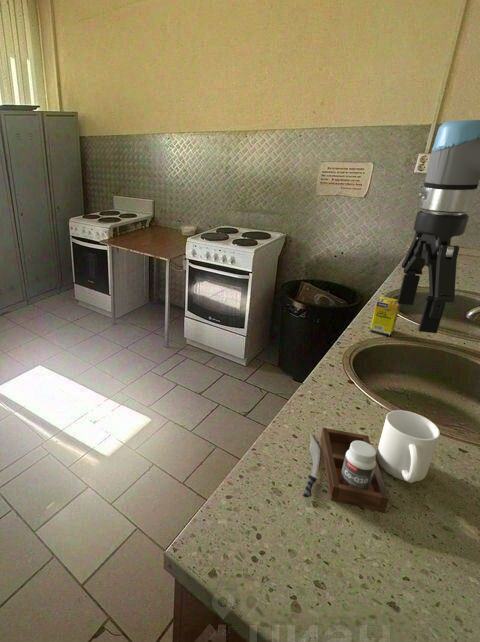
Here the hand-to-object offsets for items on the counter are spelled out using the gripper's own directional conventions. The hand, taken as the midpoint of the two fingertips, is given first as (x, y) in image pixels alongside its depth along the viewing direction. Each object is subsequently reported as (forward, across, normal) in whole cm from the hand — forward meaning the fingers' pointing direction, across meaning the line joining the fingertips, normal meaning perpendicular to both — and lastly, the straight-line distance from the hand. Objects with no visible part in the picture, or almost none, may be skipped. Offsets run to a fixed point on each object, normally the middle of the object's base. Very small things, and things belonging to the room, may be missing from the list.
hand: (415, 316), depth 80 cm
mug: (+27, +15, -1) cm, 31 cm away
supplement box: (+27, -50, +10) cm, 58 cm away
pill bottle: (+26, +22, -10) cm, 35 cm away
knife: (+27, +18, -18) cm, 37 cm away
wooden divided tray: (+27, +18, -10) cm, 34 cm away
